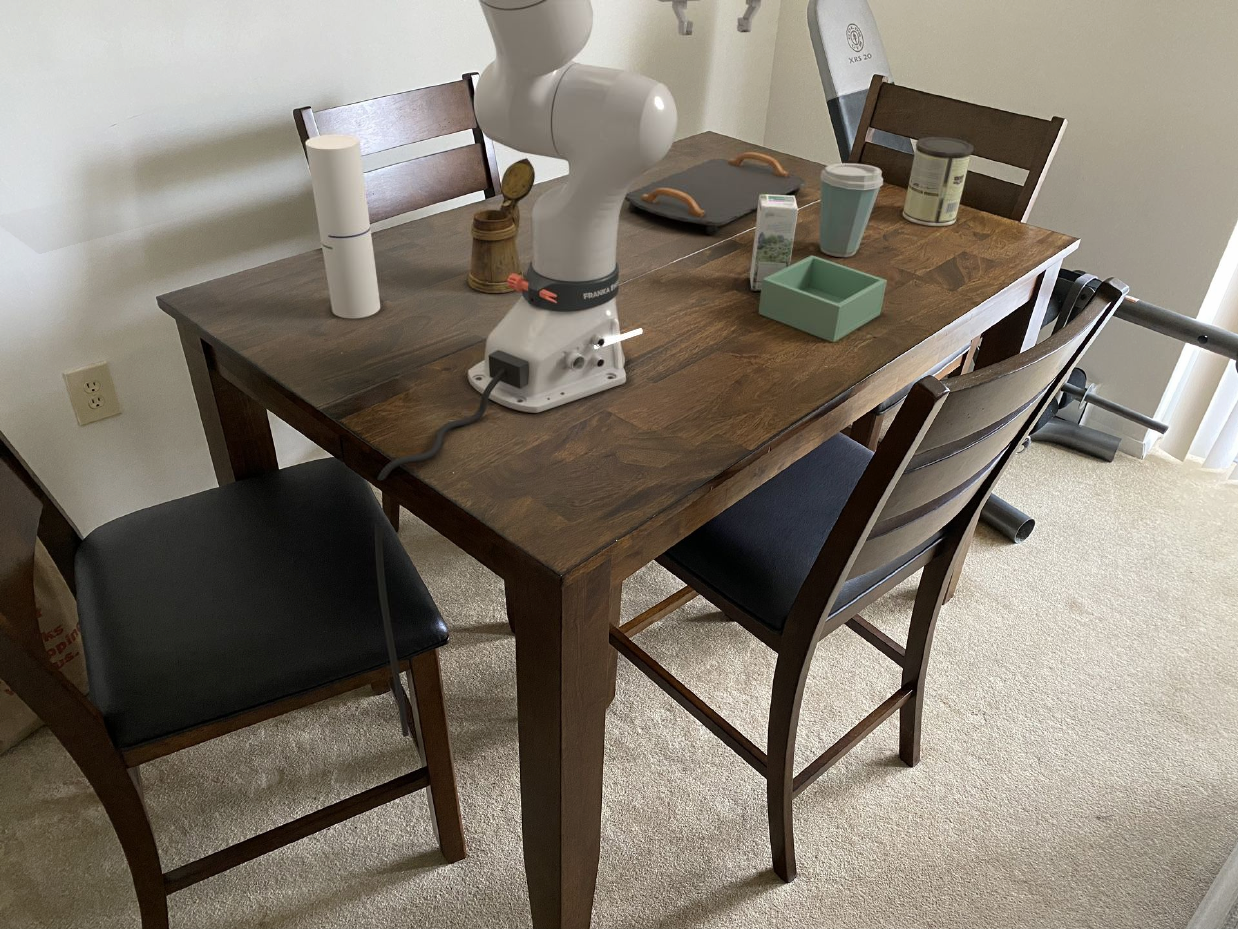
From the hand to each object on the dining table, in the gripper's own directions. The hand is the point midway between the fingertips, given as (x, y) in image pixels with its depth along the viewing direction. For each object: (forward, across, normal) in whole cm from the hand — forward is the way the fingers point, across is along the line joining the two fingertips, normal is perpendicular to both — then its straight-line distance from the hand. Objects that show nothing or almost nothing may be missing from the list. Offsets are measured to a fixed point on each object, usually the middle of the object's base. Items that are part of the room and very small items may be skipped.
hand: (714, 33), depth 137 cm
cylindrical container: (+37, -56, +2) cm, 67 cm away
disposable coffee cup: (+38, +28, +1) cm, 47 cm away
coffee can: (+38, +55, +11) cm, 67 cm away
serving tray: (+38, +18, +31) cm, 52 cm away
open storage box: (+37, +12, -21) cm, 44 cm away
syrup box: (+37, +9, -9) cm, 39 cm away
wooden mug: (+37, -32, +6) cm, 49 cm away
